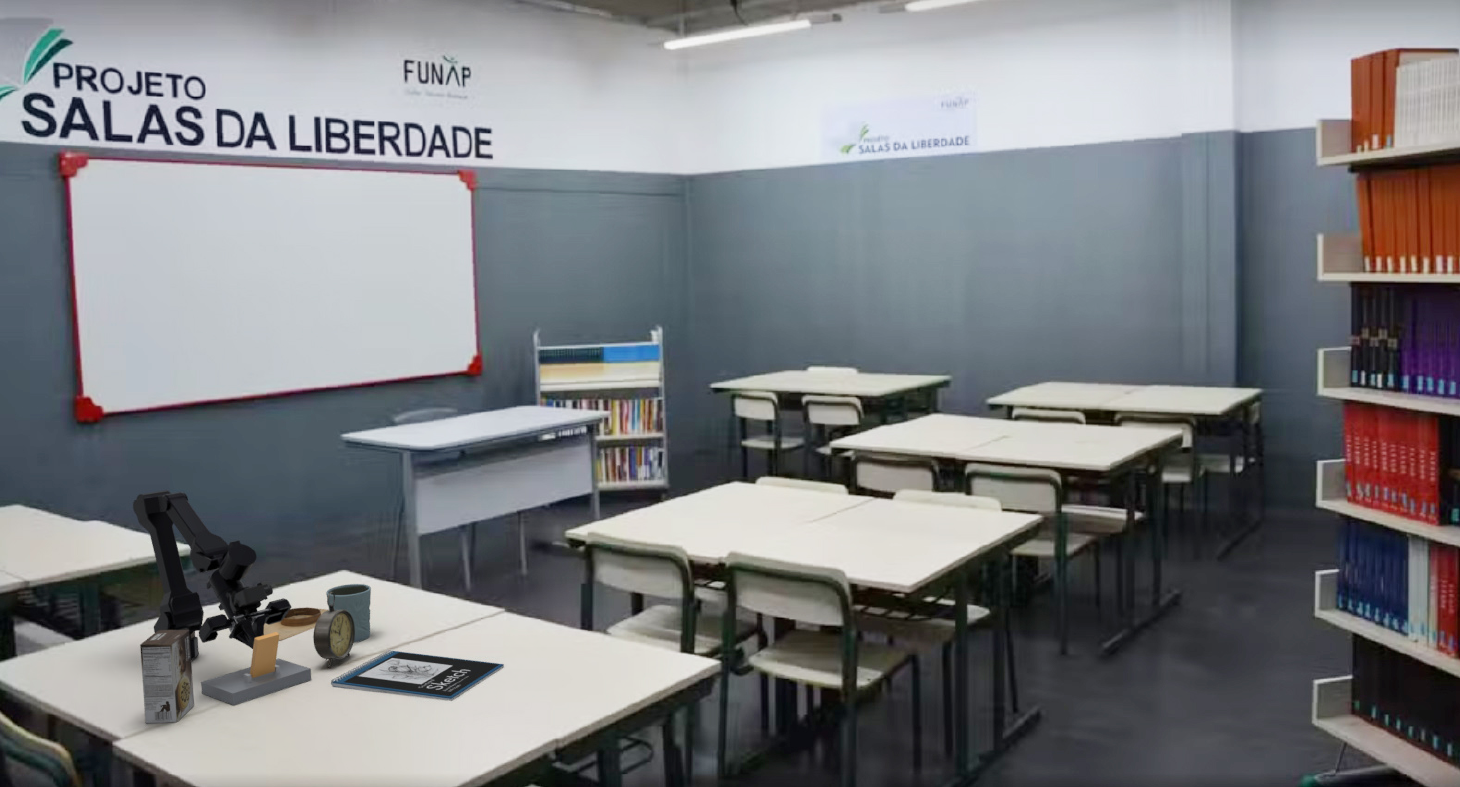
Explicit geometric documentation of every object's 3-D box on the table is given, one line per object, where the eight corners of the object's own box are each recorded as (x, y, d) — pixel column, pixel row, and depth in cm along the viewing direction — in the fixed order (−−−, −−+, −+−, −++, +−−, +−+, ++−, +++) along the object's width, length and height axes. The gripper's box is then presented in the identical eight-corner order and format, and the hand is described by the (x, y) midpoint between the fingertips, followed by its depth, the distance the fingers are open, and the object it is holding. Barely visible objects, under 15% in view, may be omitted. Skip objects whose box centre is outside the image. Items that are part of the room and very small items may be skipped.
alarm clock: (332, 670, 253) (328, 599, 252) (310, 669, 254) (306, 598, 253) (357, 654, 264) (354, 586, 262) (336, 653, 265) (333, 585, 263)
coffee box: (162, 706, 233) (157, 629, 231) (195, 705, 233) (190, 628, 232) (143, 724, 224) (138, 643, 222) (177, 722, 224) (172, 642, 223)
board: (307, 609, 304) (306, 597, 303) (352, 615, 298) (352, 603, 297) (233, 637, 281) (233, 624, 280) (281, 643, 275) (281, 630, 274)
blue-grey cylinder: (381, 635, 278) (379, 587, 277) (347, 646, 270) (345, 597, 269) (353, 629, 284) (351, 581, 283) (319, 640, 275) (317, 591, 274)
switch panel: (201, 693, 240) (200, 675, 240) (279, 669, 255) (278, 651, 254) (233, 705, 233) (232, 686, 233) (311, 679, 248) (310, 661, 247)
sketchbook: (451, 704, 234) (451, 694, 234) (328, 689, 244) (328, 679, 243) (504, 669, 255) (503, 660, 254) (388, 656, 264) (388, 647, 264)
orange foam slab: (249, 675, 241) (254, 637, 238) (271, 668, 245) (276, 631, 242) (252, 678, 240) (257, 640, 238) (274, 671, 244) (279, 634, 242)
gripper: (203, 580, 235) (235, 643, 230) (284, 562, 250) (316, 620, 245) (184, 611, 241) (215, 672, 235) (265, 591, 256) (296, 648, 250)
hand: (262, 652), depth 241 cm, fingers closed, pressing on orange foam slab
